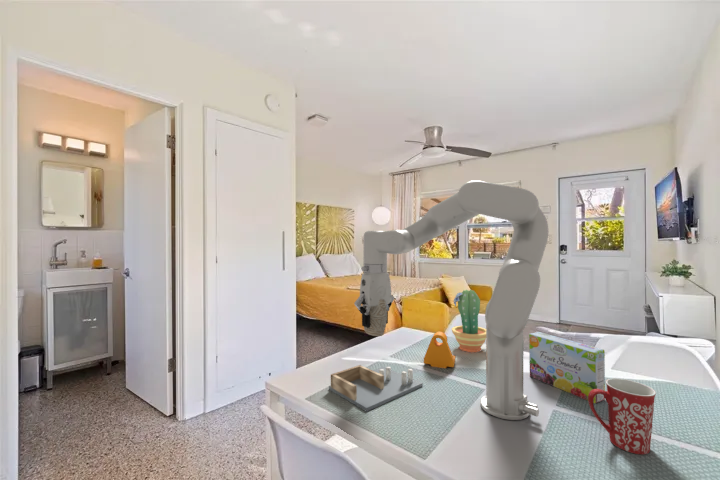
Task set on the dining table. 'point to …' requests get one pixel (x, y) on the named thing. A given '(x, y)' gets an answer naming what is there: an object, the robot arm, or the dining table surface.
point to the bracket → (439, 352)
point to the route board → (375, 396)
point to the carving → (377, 319)
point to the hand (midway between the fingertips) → (375, 324)
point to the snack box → (567, 365)
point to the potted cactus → (469, 322)
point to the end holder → (343, 379)
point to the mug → (627, 414)
